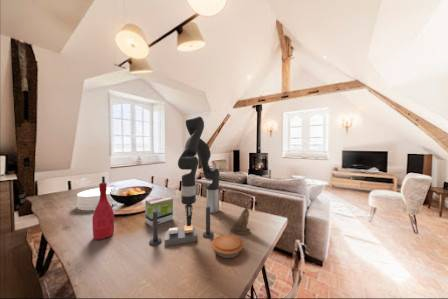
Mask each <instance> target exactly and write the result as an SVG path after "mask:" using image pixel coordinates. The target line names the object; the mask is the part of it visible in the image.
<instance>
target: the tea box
mask: <svg viewBox="0 0 448 299" xmlns="http://www.w3.org/2000/svg"><path fill="white" fill-rule="evenodd" d="M144 202H145V203H144V204H145V205H144V210H145V211H144V213H145V214H144V222H145V223H146V224H148V225H149V226H150V227H152V228H153V212H154V211H157V212H158V225H161V224H163V223H165V222H169V221H172V220H174V219H173V218H174V217H173V216H174V199H173V198H171V197H170V196H168V195H163V196H159V197H156V198H150V199H147V200H145V201H144Z"/></svg>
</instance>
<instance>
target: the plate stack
mask: <svg viewBox="0 0 448 299" xmlns="http://www.w3.org/2000/svg"><path fill="white" fill-rule="evenodd" d="M106 188H107V190H106V196H107V200H108V202H109V204H113V203H115V201H114V200H113V199H112V197H111V196H110V192H111V189H112V188H113V187H106ZM114 188H115V189H117V190H118V191H119V188H118V187H114ZM99 190H100V187H97V188H91V189H87V190H83V191H81V192H78V193H77V194H76V196H77V197H76V199H77V200H76V201H77V205H76V206H77V207H78V209H81V210H93V211H95V210H94V209H96V207H97V205H98V203H99V200H100V191H99ZM78 209H77V210H78Z"/></svg>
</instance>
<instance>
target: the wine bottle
mask: <svg viewBox="0 0 448 299" xmlns="http://www.w3.org/2000/svg"><path fill="white" fill-rule="evenodd" d="M98 188H100V190H99V191H100V200H99V203H98V205H97V207H96V209H95V210H93V215H92V219H91V220H92V238H93V239H94V240H99V239H100V240H105V239H108V238H110V237H111V236H112V235H113V234H114V232H115V213H114V209H113V206H111V205H110V204H109V202H108V200H107V196H106V190H107V188H108V187H107V183H106V182H100V183H99V187H98ZM107 237H108V238H107Z"/></svg>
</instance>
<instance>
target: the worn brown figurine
mask: <svg viewBox="0 0 448 299" xmlns="http://www.w3.org/2000/svg"><path fill="white" fill-rule="evenodd" d="M248 208H249V205H248V204H246V205H245V209H243V211H242V212H241V213H240V216H239V218H237V220H236V221H235V222H234V223H233V224H232V225H231V227H229V228H230V230H229V232H230V233H234V234H238V235H244V236H245V235H246V236H250V234H251V229H250V228H248V224H249V220H250V219H249V216H250V211H249V209H248Z"/></svg>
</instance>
